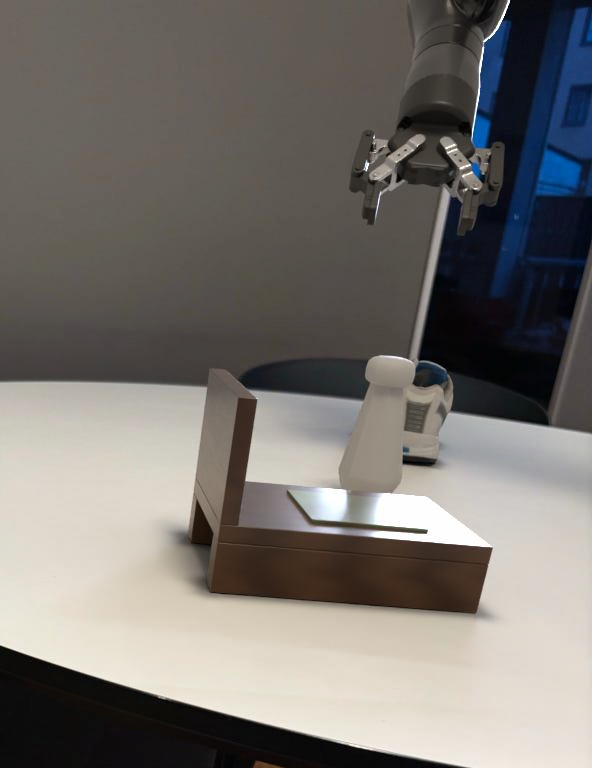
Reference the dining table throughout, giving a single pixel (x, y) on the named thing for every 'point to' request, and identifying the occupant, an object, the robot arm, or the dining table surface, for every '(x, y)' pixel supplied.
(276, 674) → the dining table surface
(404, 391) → the athletic shoe
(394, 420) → the salt shaker
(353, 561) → the l-shaped wooden stand
